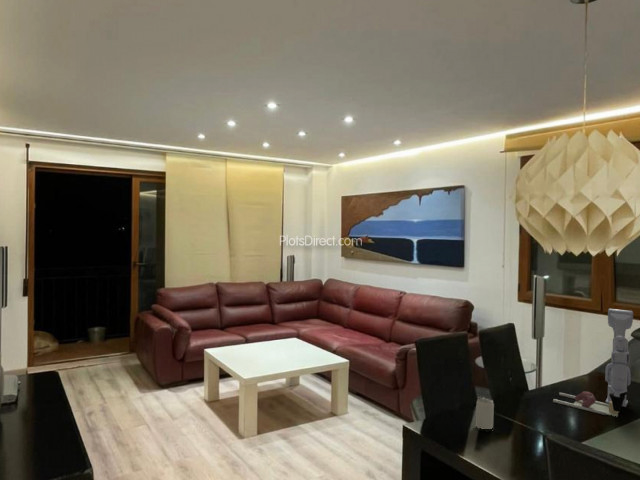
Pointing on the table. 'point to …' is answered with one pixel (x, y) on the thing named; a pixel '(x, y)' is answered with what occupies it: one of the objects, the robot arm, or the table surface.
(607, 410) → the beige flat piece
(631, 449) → the table surface
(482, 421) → the can
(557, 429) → the table surface
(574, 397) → the aluminium rails
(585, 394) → the purple lumpy piece
